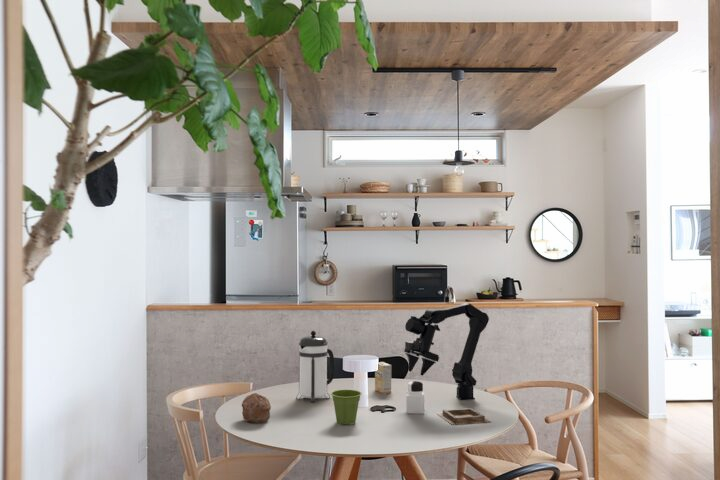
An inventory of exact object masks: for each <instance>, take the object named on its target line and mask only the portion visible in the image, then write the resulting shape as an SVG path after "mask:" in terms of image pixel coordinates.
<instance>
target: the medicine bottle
mask: <svg viewBox="0 0 720 480" xmlns="http://www.w3.org/2000/svg"><path fill="white" fill-rule="evenodd" d="M423 386H424V384H423V382H421V381H418V380H417V381H416V380H415V381H414V380H413V381H409V382H408V383H407V391H406V395H405V396H406V400H405V401H406V406H405V409H406V412H405V413H406V414H411V415H412V414H413V415H414V414H416V415H417V414H418V415H419V414H420V415H423V414H425V392H424V391H423V390H424V387H423Z"/></svg>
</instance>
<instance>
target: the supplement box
mask: <svg viewBox="0 0 720 480" xmlns="http://www.w3.org/2000/svg"><path fill="white" fill-rule="evenodd" d="M377 362H378V371H375V370H374V390H375V392H378V393H381V394H383V395H385V394H391V393H392V364H389V363H386V362H385V361H380V362H379V361H377Z"/></svg>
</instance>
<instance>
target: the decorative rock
mask: <svg viewBox="0 0 720 480" xmlns="http://www.w3.org/2000/svg"><path fill="white" fill-rule="evenodd" d="M241 408H242V411H241V412H242V418H243V420H244V421H245V422H249V423H255V424H257V423H259V424H260V423H262V422H266V421H268V420H270V417H271V412H270V411H271V408H272V406H271V403H270V400H269V399H268V398H267V397H266V396H263V395H261V394H259V393H257V392H255V393H251V394H250V395H247V396H245V397H244V399H243V400H242V403H241Z"/></svg>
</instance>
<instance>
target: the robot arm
mask: <svg viewBox="0 0 720 480" xmlns="http://www.w3.org/2000/svg"><path fill="white" fill-rule="evenodd" d="M460 315H465V316H466V317H467V318H468V319H469V321H468V326H469V331H468V335H467V338H466V341H465V344H464V347H463V350H462V355H461V358H460V360H459V361H458V362H454V363H453V368H451V372H452V377H453V380H454V381H455V383H456V384H457V386H456V396H455V397H456V398H458V399H459V400H460V401H466V400H475V399H476V398H475V397H474V386H477V380H476V379H475V378H474V376H473V366H472V362H473V358H474V356H475V353H476V350H477V346H478V342H479V339H480V336H481V333H482V332H483V331H484V330H485V329H486V328H487V326H488V324H489V320H490V318H489V315H488V314H487V312H483V311H481V310H480V308H477V307H476V306H474V305H473V304H471V303H468V302H463V303H462V304H457V305H454V306H450V307H446V308H429V309H425V312H424V314H422V315H421V316H420V317H419V318H418V317H417V316H415V315H411V316H410V318H408V320H407V321H406V323H405V330H406V332H409V333H412V334H415V335H417V336H419V337H416V340H409V341H405V343H404V346H405V347H404V351H403V352H404V353H405V355H406V357H407V358H408V360H407V361H408V372H412V371H413V369H414V368H415V366H416V364H417V363H418V361H419V360H420V357H419V356H421V360H422V365H421V369H420V375H419V376H424V375H425V374H426V373H427V372H428V371H429V369H431V367H432V366H433V365H434V364H436V363H438V362H439V360H440V355H439V354H437V353H434V352H431V351H430V350H431V347H432V346H434V344H435V342H433V340H434V337H435V333H436V331H437V332H440V331H441V329H440V327H439V325H438V324H440V323H442V322H444V321H445V320H446V319H448V318H451V317H455V316H460Z"/></svg>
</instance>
